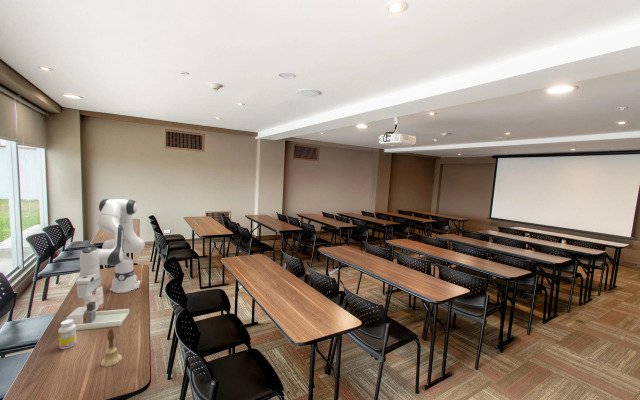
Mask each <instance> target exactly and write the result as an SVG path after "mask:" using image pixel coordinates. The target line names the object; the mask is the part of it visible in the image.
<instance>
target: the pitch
mask: <svg viewBox="0 0 640 400" xmlns="http://www.w3.org/2000/svg"><path fill="white" fill-rule="evenodd" d="M88 314H89V311H87V307H85V306H78V307H77V308H75V309H74V310H73V311H72V312H71V313H70V314H69V315H68V316H67V317H66V320H68V319H72V320H73V324H75V325H76V331H84V330H93V329H104V328H114V327H121V326H122V324H123V323H124V321H125V320H126V318H127V317H128V316H129V314H130V308H123V309H121V308H120V309H111V310H109V309H108V310H100V311H99V310H97V311H95V319H94V320H93V321H92V322H91V323H87V319H86V320H85V321H84V322H83V315H86V316H87V315H88Z"/></svg>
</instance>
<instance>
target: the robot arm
mask: <svg viewBox="0 0 640 400" xmlns="http://www.w3.org/2000/svg"><path fill="white" fill-rule="evenodd" d="M98 210H99V212H100V213H99V215H98V219H97V222H96V223H97V226H98V228H99V229H100V230H102V231H104V232H106V233H109V234H111V235H113V237H114V238H112V239H108V240H105V241H104V242H103V244H102V245H101V246H102V247H101V248H98V247H97V246H87V247H84V248H82V249H81V250H80V253H79V266H80V269H79V275H78V277H77V279H76V280H75V284H76V295H77V298H78V299H79V298H82V300H83V302H88V301H89V298H88V295H89V294H90V293H91V292H92V291H93V292H92V295H95V294H96V293H97V288H98V287H100V285H101V284H102V275H101V270H100V268H101V267H100V266H106V265H107V266H114V270H115V271H114V278H112V281H111V287H110V288H109V291H111V292H113V293H114V294H115V293H117V294H123V293H129V292H131V290H132V291H134V290H137V288H138V289H139V288H140V286H139V285H141V280H139V279H138V276H137V275H136V274H135V270H136V269H135V267H134V259H133V258H131V257H129V256H126V255H125V254H129V253H130V254H131V253H138V252H141V251H143V250H144V248H145V247H146V244H145V241H144V239H143V238H141V237H140V236H138V235H137V233H136V232H135V230H134V215H135V213H137V210H138V203H137V201H135V200H133V199H123V198H114V199H113V198H111V199H109V198H104V199H101V200H100V202H99V205H98ZM137 280H138V281H137Z"/></svg>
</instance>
